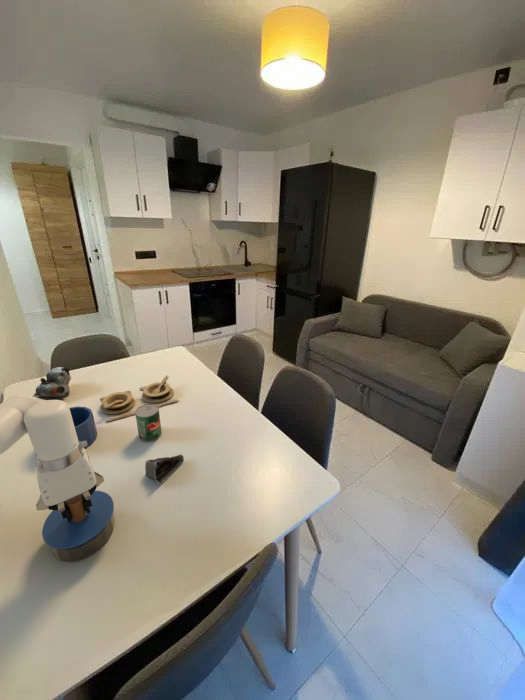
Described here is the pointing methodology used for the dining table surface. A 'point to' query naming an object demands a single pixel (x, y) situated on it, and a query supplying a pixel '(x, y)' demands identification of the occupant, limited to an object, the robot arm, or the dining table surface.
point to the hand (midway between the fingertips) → (78, 512)
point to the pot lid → (78, 521)
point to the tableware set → (125, 400)
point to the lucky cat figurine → (55, 383)
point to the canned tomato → (148, 422)
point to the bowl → (85, 546)
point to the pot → (84, 424)
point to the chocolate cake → (163, 467)
